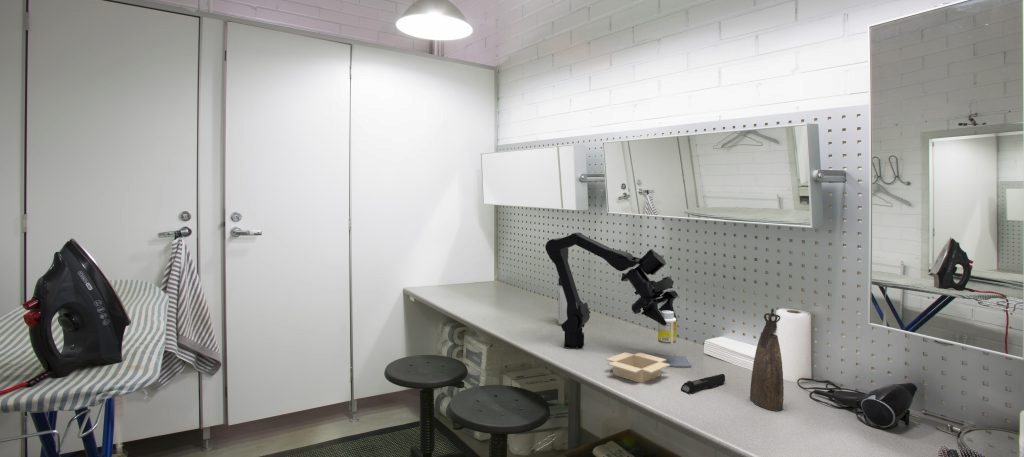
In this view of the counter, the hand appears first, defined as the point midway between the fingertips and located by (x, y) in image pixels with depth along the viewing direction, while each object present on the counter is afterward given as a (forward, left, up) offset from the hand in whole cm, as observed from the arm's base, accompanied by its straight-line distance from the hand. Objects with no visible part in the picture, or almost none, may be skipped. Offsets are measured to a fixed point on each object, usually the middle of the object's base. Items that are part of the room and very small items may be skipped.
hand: (671, 323), depth 166 cm
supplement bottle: (-1, +1, -7) cm, 7 cm away
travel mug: (-35, +47, -14) cm, 60 cm away
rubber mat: (+1, +3, -13) cm, 14 cm away
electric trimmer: (+6, -18, -14) cm, 24 cm away
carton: (-11, -10, -13) cm, 20 cm away
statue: (+20, -28, -14) cm, 37 cm away
